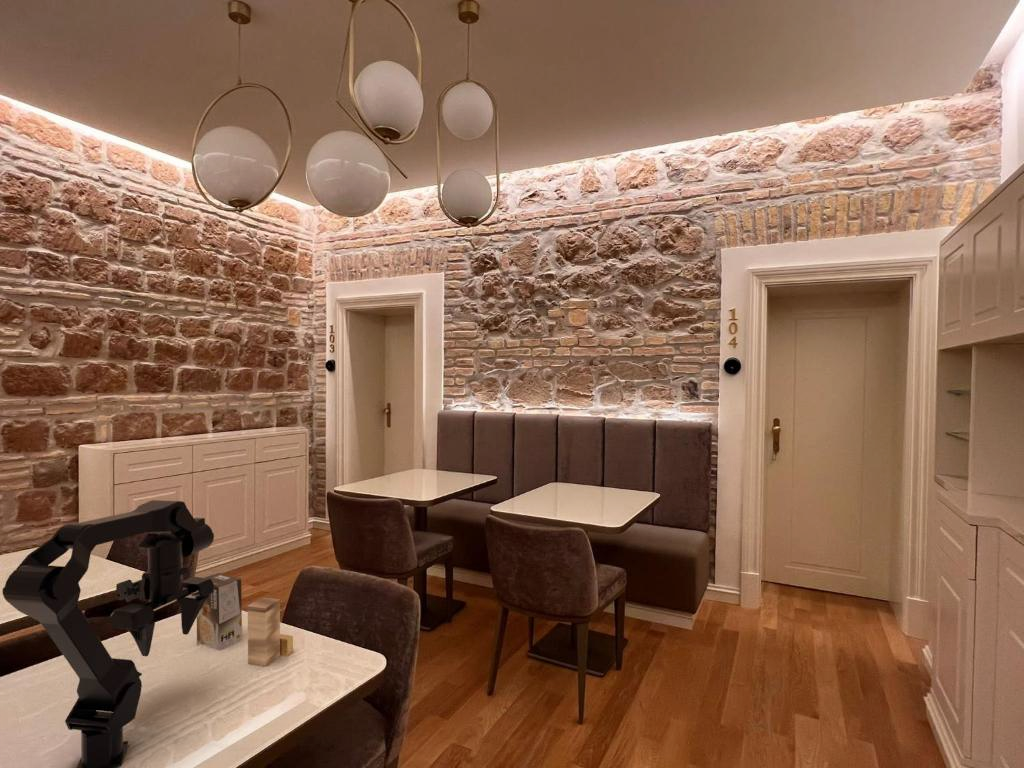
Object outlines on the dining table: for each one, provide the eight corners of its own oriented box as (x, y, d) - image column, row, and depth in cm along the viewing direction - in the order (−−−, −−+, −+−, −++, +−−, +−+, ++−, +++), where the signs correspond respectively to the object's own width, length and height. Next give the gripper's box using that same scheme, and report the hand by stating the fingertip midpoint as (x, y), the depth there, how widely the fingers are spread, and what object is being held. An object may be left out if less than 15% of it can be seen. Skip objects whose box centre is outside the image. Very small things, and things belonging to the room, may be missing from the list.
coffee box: (243, 643, 138) (243, 578, 138) (219, 655, 132) (219, 586, 132) (219, 635, 142) (219, 572, 142) (195, 646, 137) (194, 580, 136)
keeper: (265, 666, 125) (264, 608, 125) (247, 663, 126) (247, 606, 126) (280, 655, 130) (280, 599, 130) (263, 652, 131) (263, 597, 131)
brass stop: (287, 656, 130) (287, 639, 130) (257, 652, 132) (257, 635, 132) (292, 652, 132) (292, 635, 132) (263, 648, 134) (263, 631, 134)
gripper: (172, 547, 121) (173, 619, 121) (86, 577, 103) (87, 662, 103) (215, 551, 118) (216, 625, 118) (134, 583, 100) (135, 671, 100)
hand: (166, 644), depth 110 cm, fingers open, 9 cm apart
